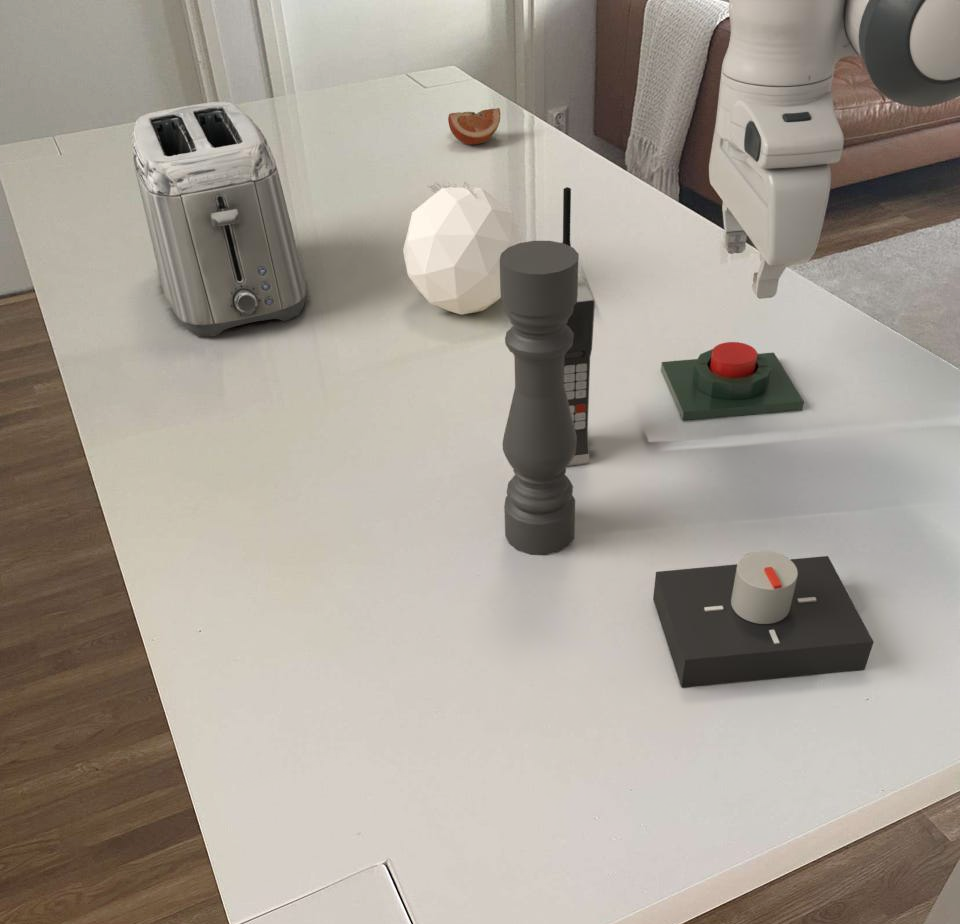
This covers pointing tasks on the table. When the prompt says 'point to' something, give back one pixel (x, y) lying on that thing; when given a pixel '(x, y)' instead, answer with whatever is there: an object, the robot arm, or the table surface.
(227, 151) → the toaster
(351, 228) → the table surface
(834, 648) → the timer panel
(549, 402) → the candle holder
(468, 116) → the fruit slice
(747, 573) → the timer knob
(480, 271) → the geodesic sphere
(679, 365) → the housing
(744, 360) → the button
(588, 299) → the vintage mobile phone
